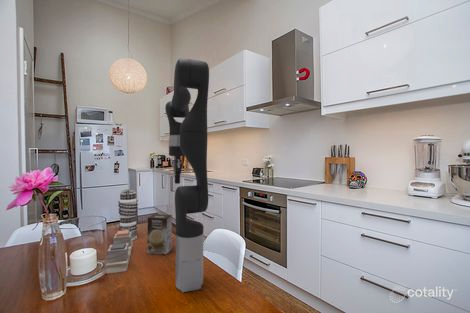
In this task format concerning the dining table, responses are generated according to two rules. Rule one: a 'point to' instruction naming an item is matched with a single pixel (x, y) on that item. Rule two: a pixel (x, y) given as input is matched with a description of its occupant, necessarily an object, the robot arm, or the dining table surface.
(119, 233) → the terracotta plunger
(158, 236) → the coffee box
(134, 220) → the decorative candle
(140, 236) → the dining table surface
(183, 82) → the robot arm
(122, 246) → the charcoal plunger
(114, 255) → the button board
